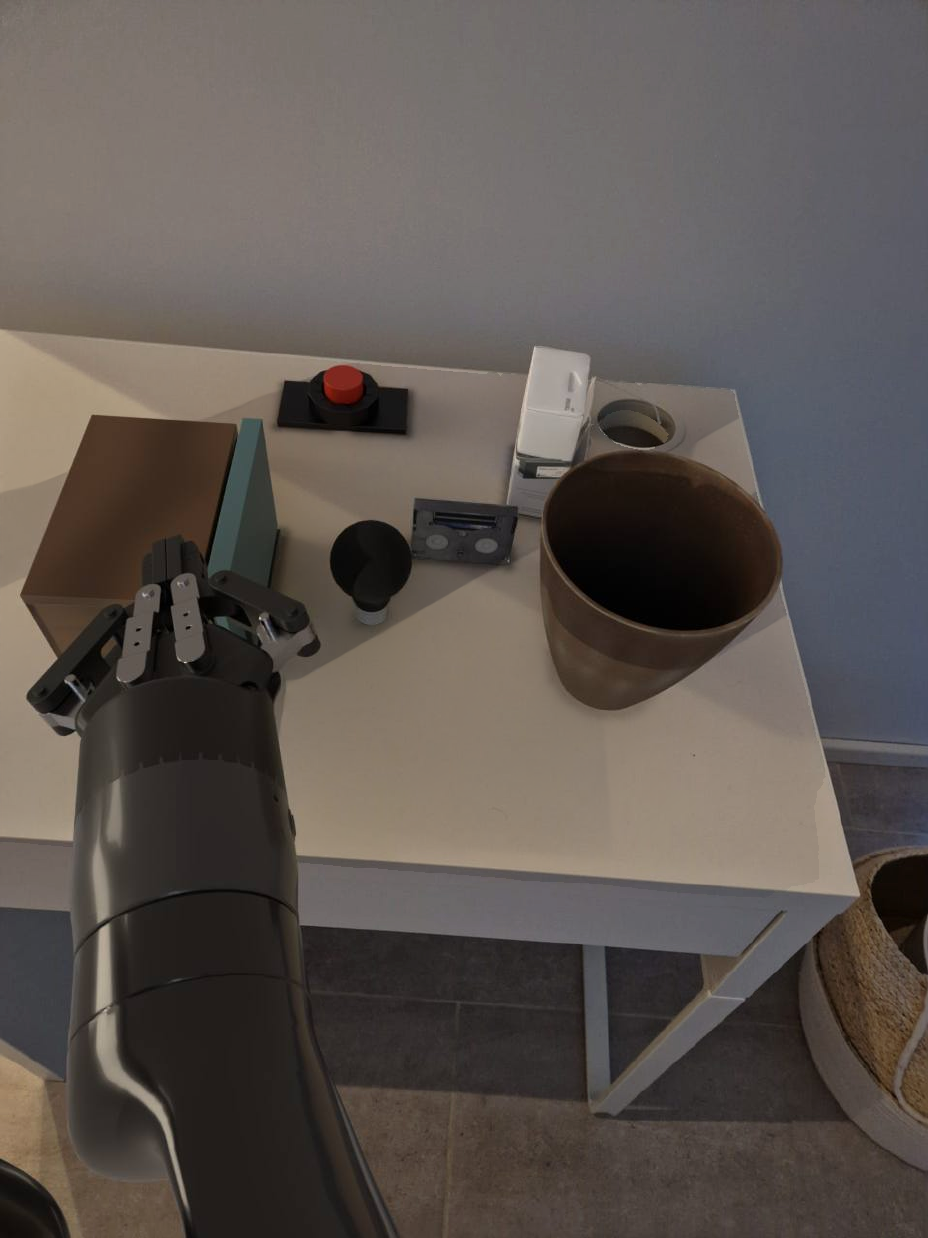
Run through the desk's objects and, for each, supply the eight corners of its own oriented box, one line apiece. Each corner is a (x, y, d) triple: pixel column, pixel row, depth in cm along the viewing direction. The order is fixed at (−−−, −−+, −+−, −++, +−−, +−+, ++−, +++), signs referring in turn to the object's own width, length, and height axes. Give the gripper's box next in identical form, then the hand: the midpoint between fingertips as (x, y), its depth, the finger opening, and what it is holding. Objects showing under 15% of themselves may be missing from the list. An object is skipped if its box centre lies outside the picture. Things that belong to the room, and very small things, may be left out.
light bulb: (338, 586, 64) (333, 499, 56) (411, 592, 64) (416, 506, 56) (329, 646, 60) (322, 563, 52) (406, 652, 61) (410, 570, 53)
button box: (277, 428, 74) (274, 407, 72) (285, 384, 78) (283, 362, 76) (405, 436, 75) (406, 416, 73) (408, 392, 79) (408, 371, 77)
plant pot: (680, 788, 56) (771, 668, 43) (481, 719, 58) (511, 585, 45) (710, 628, 65) (793, 488, 52) (536, 572, 67) (575, 424, 54)
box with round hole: (577, 404, 80) (596, 364, 76) (655, 430, 81) (677, 392, 77) (563, 501, 72) (584, 462, 68) (649, 529, 73) (674, 492, 69)
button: (322, 403, 73) (321, 388, 72) (326, 378, 75) (325, 363, 74) (361, 406, 74) (361, 390, 72) (364, 381, 76) (364, 365, 74)
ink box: (513, 448, 75) (533, 340, 66) (564, 456, 75) (592, 350, 66) (503, 512, 70) (523, 406, 61) (558, 522, 70) (587, 417, 61)
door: (227, 699, 56) (199, 604, 47) (260, 524, 66) (242, 417, 56) (254, 700, 56) (230, 605, 47) (282, 526, 66) (268, 419, 57)
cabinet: (55, 781, 52) (-18, 688, 43) (134, 526, 65) (92, 411, 56) (239, 786, 53) (209, 696, 44) (281, 534, 66) (265, 422, 57)
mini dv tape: (507, 552, 68) (518, 502, 63) (508, 565, 67) (518, 517, 62) (411, 544, 67) (414, 494, 62) (410, 558, 66) (413, 508, 61)
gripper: (331, 712, 27) (273, 453, 39) (-58, 842, 26) (6, 533, 38) (382, 822, 32) (317, 564, 44) (61, 935, 31) (84, 638, 43)
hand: (173, 550), depth 41 cm, fingers closed
